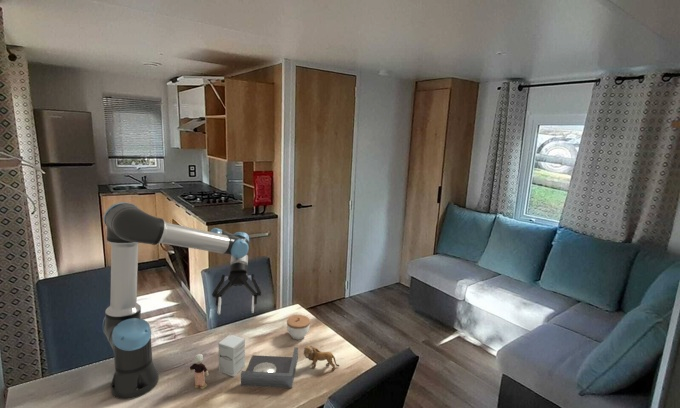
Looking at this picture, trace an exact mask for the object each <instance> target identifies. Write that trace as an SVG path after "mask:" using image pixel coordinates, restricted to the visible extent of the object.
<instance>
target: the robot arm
mask: <svg viewBox="0 0 680 408" xmlns="http://www.w3.org/2000/svg"><path fill="white" fill-rule="evenodd" d="M103 220H104V224H105V226H106V242H107V243H109V244H110V245H111V247H110V249H111V251H110V253H111V254H110V255H111V256H110V257H111V259H110V299H109V301H110V305H109V306H107V308H106V309H105V310H104V311H105V314H104V318H103V321H102V332H103V334H104V335H105V337H106V339H107V341H108V342H109V343H108V344H110V347H111V349H112V351H113V358H114V359H113V360H114V373H113V377H112V380H111V383H110V393H111V395H112V396H113V397H114V398H117V399H120V400H130V399H136V398H138V397H141V396H143V395H145V394H147V393H149V392H150V391H152V390H153V389H155V387H156V386H157V385H158V383H159V378H160V377H159V371H158V370H157V367H156V366H155V363H154V361H153V353H152V351H153V350H152V349H153V348H152V330H151V326H150V324H149V323H150V322H148V321H147V320H146V319H144V318H141V316H142V315H141V313H142V307H141V304H139V303H138V300H137V298H138V296H137V295H138V294H137V293H138V269H139V268H138V267H139V265H138V264H139V263H138V261H139V244H145V245H154V246H158V245H159V244H163V245H164V244H165V245H171V246H176V247H181V248H188V249H194V250H200V251H206V252H211V253H212V252H213V253H217V254H224V255H228V256H230V267H229V275H224V274H222V275H221V277H220V278H221V279H220V281H219V282H218V284H217V286H215V289H213V291H212V293H211V296H212V298H215V307H217V314H218V315H221V309H222V297H223V295H224V294H225V293H227V291H229V289H231V288H232V287H233V286H234V287H237V286H239V287H242V286H244V287H245V288H246V289H247V290H248V291H249V293H250V294H251V295H252V296H251V297H252V298H251V314H254V312H255V305H257V304H258V297H261V296H262V291H261V288H260V287H259V284H258V283H257V281H256V279H255V274H254V273H252V274H250V275H248V265H249V264H248V263H249V250H250V249H249V247H250V237H249V234H248V233H246V232H243V231H237V232H235V233H231V232H228V231H226V230H223V229H222V228H217V227H214V228H212V229H211V230H210V231H208V230H204V229H198V228H193V227H189V226H184V225H180V224H179V225H178V224H176V223H170V222H166V220H165V219H164V218H162V217H161V218H160V217H158V216H157V217H156V216H153V215H152V214H149V213H147V212H145V211H144V210H142V209H140V208H139V207H138V206H137V205H135V204H133V203H130V202H125V201H124V202H123V201H122V202H117V203H114V204H113V205H111V206H109V207H108V209H106V210H105V213H104V217H103ZM227 280H228V282H227V284H225V282H226V281H227ZM248 280H250V281H251V282H252V285H253V286H254V288H255V290H254V289H253V287H252V286H250V284H249V283H248V282H247V281H248ZM224 284H225V286H223V285H224ZM222 287H223V288H222Z"/></svg>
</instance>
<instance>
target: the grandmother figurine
mask: <svg viewBox="0 0 680 408" xmlns="http://www.w3.org/2000/svg"><path fill="white" fill-rule="evenodd" d="M203 359H204V355H203V354H202V353H197V354H196V355H195V356H194V358H193V361H192V362H193V364H191V365H190V366H189V369H188V372H189V373H191V372H192V371H194V383H195V385H194V389H198V388H200V389H202V390H203V389H205V388H207V387H208V383H206V379H205V376H206V377H208V376H209V371H208V368H207V367H206V365H205V364H204V363H203V361H204V360H203Z"/></svg>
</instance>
